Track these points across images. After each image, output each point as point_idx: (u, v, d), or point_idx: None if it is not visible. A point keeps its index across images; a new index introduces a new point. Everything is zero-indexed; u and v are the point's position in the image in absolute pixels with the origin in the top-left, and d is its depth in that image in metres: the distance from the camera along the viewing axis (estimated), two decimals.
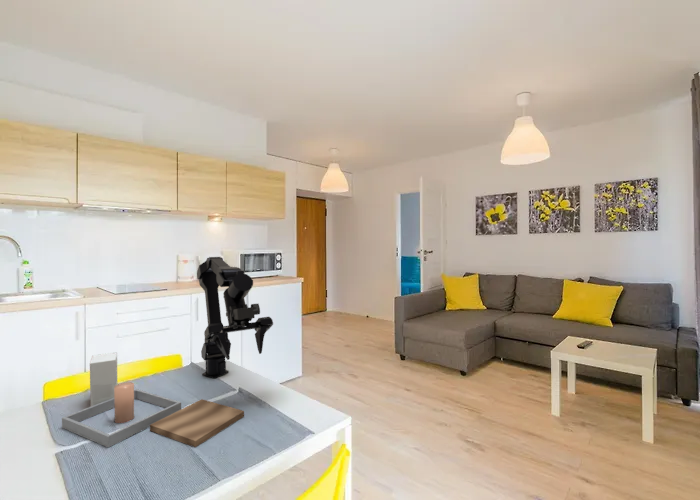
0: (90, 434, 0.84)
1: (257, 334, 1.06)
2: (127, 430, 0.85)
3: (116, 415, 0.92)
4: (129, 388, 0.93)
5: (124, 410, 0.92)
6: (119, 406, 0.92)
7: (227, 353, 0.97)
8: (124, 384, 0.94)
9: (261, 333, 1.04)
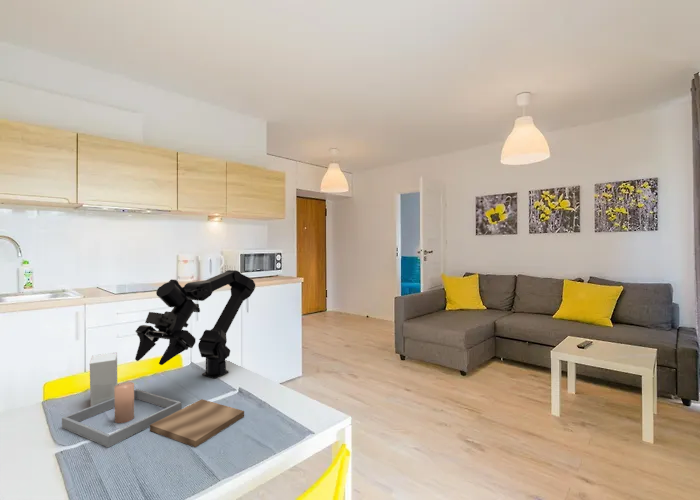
0: (90, 434, 0.84)
1: None
2: (127, 430, 0.85)
3: (116, 415, 0.92)
4: (129, 388, 0.93)
5: (124, 410, 0.92)
6: (119, 406, 0.92)
7: (137, 354, 1.02)
8: (124, 384, 0.94)
9: (170, 344, 1.01)
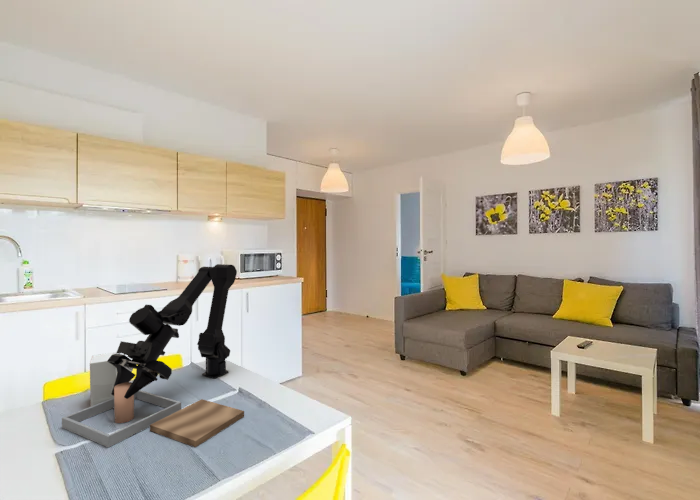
0: (90, 434, 0.84)
1: None
2: (127, 430, 0.85)
3: (116, 415, 0.92)
4: None
5: (124, 410, 0.92)
6: (119, 406, 0.92)
7: (113, 388, 0.94)
8: (124, 384, 0.94)
9: (137, 376, 0.94)
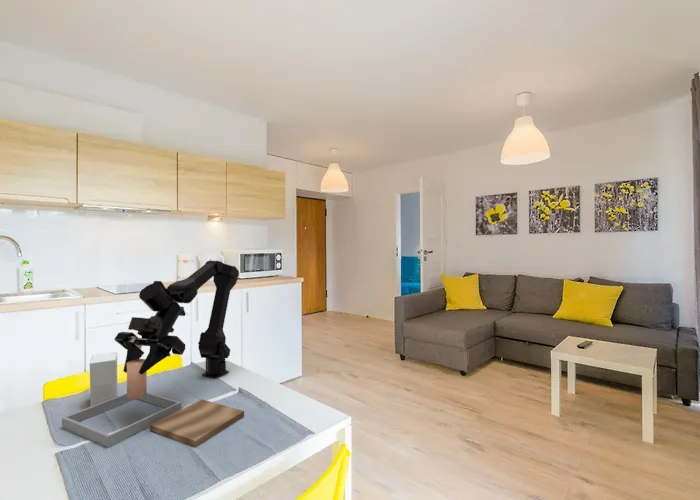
0: (90, 434, 0.84)
1: None
2: (127, 430, 0.85)
3: (130, 391, 0.90)
4: None
5: (138, 386, 0.90)
6: (133, 382, 0.90)
7: (125, 365, 0.92)
8: (136, 360, 0.93)
9: (150, 351, 0.92)
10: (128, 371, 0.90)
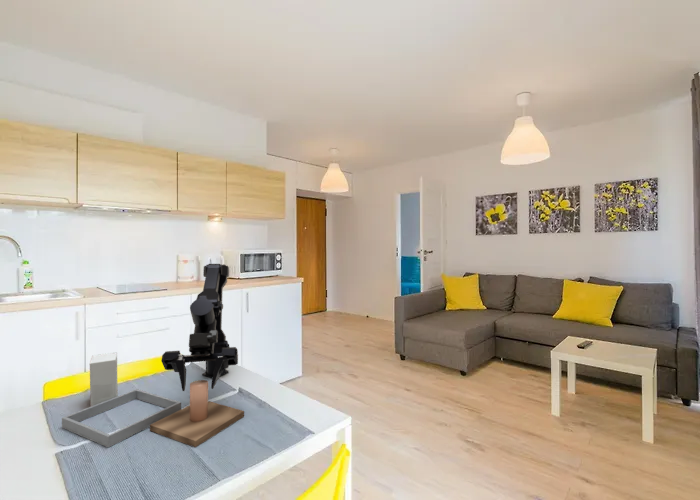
0: (90, 434, 0.84)
1: None
2: (127, 430, 0.85)
3: (197, 413, 0.90)
4: None
5: (205, 407, 0.91)
6: (201, 403, 0.90)
7: (182, 383, 0.90)
8: (197, 382, 0.92)
9: (216, 365, 0.94)
10: (195, 393, 0.90)
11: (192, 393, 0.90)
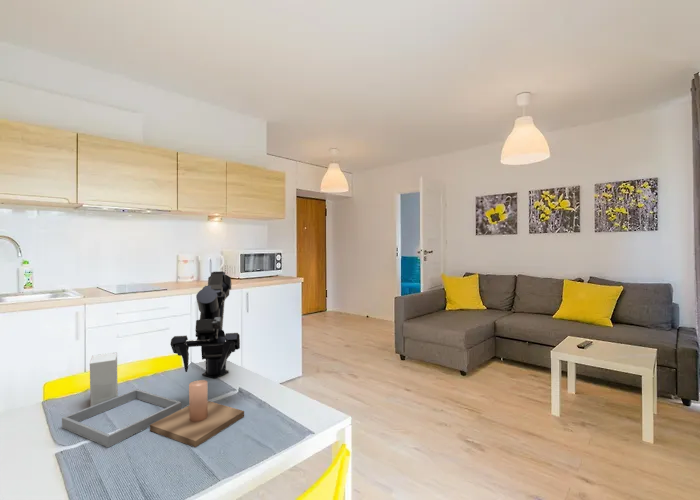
0: (90, 434, 0.84)
1: None
2: (127, 430, 0.85)
3: (197, 414, 0.90)
4: None
5: (204, 407, 0.91)
6: (200, 403, 0.90)
7: (185, 365, 0.99)
8: (196, 382, 0.92)
9: (225, 348, 1.03)
10: (195, 393, 0.90)
11: (191, 393, 0.90)
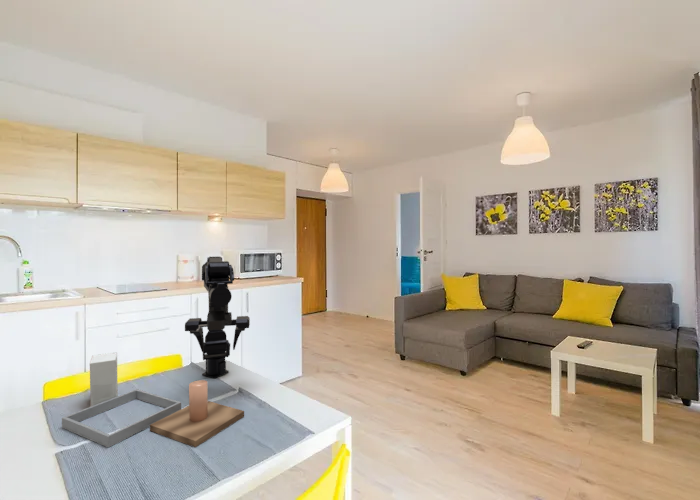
0: (90, 434, 0.84)
1: None
2: (127, 430, 0.85)
3: (197, 414, 0.90)
4: None
5: (204, 407, 0.91)
6: (200, 403, 0.90)
7: (201, 347, 1.09)
8: (196, 382, 0.92)
9: (236, 333, 1.11)
10: (194, 394, 0.89)
11: (191, 393, 0.90)
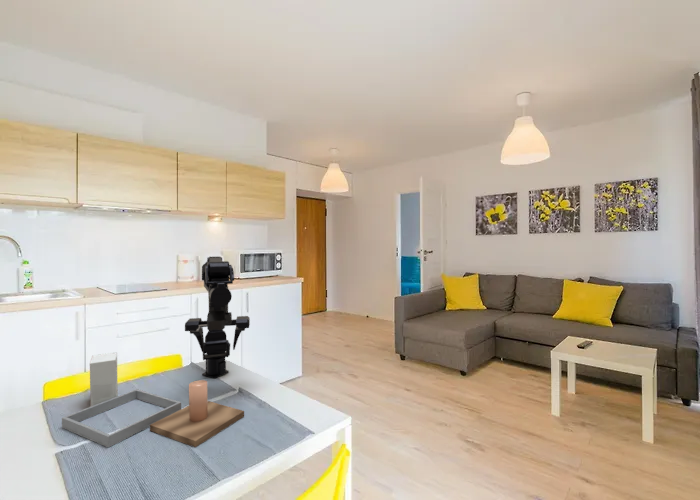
0: (90, 434, 0.84)
1: None
2: (127, 430, 0.85)
3: (196, 414, 0.90)
4: (206, 384, 0.92)
5: (204, 407, 0.91)
6: (200, 403, 0.90)
7: (201, 347, 1.09)
8: (196, 382, 0.92)
9: (236, 333, 1.11)
10: (194, 394, 0.89)
11: (191, 393, 0.90)
